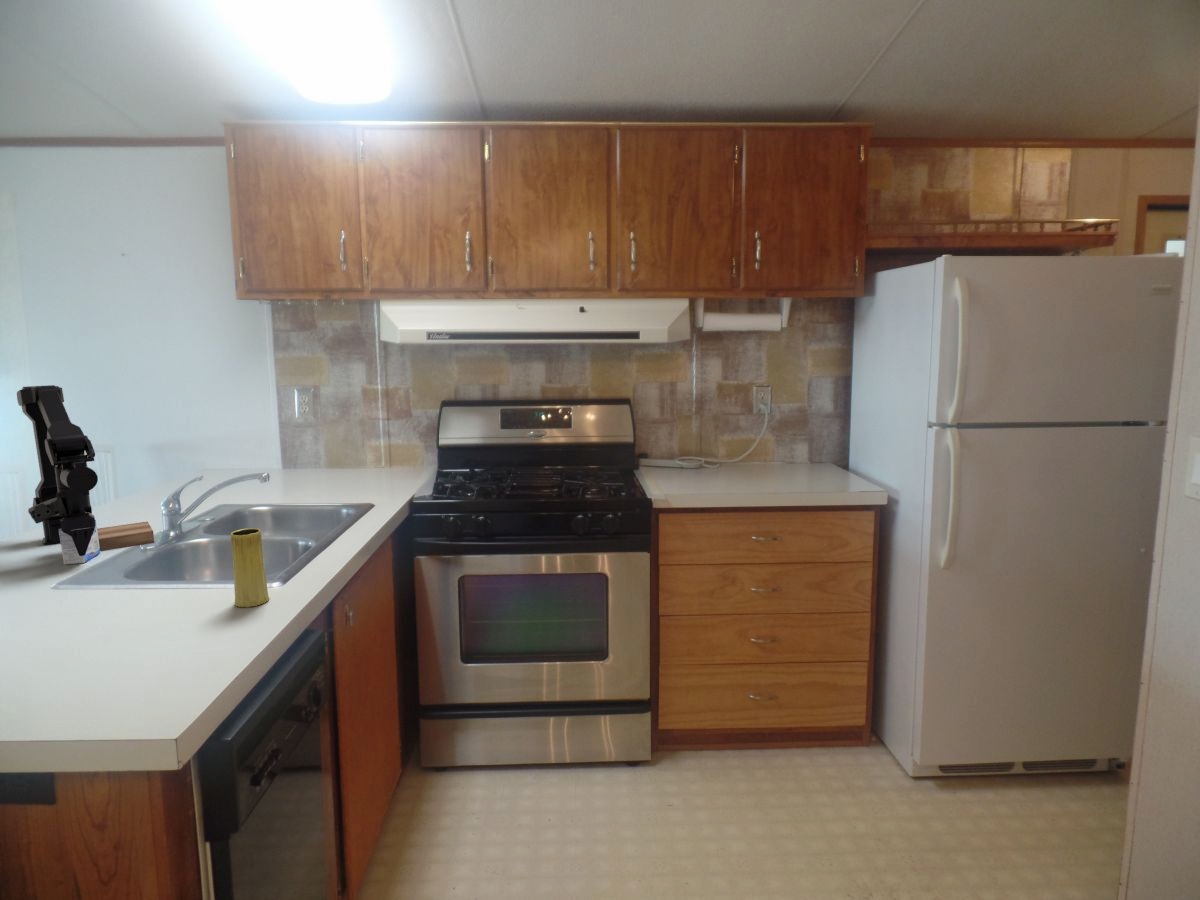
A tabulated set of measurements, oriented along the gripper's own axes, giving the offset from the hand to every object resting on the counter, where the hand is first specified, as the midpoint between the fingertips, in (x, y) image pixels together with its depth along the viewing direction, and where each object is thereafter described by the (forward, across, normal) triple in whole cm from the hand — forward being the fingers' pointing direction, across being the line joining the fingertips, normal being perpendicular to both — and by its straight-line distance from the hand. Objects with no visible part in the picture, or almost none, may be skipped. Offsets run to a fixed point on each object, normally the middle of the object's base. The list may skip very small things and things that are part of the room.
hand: (81, 550), depth 165 cm
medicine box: (+2, 0, 0) cm, 2 cm away
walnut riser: (+2, -11, +9) cm, 14 cm away
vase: (+2, +55, +25) cm, 60 cm away
